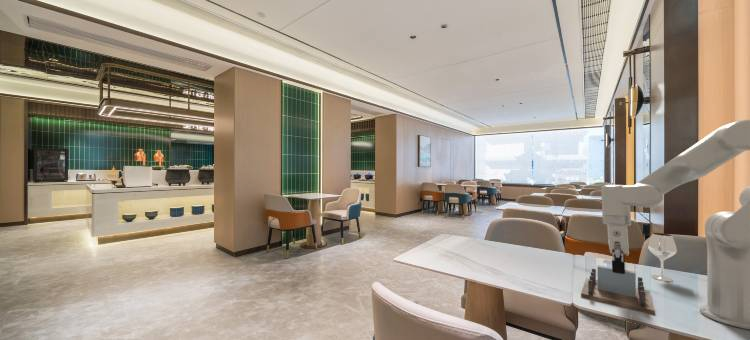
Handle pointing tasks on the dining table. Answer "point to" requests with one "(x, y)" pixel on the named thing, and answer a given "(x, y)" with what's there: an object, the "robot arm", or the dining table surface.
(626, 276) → the pale blue upright panel
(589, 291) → the rack
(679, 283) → the dining table surface
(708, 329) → the dining table surface
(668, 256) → the wineglass
